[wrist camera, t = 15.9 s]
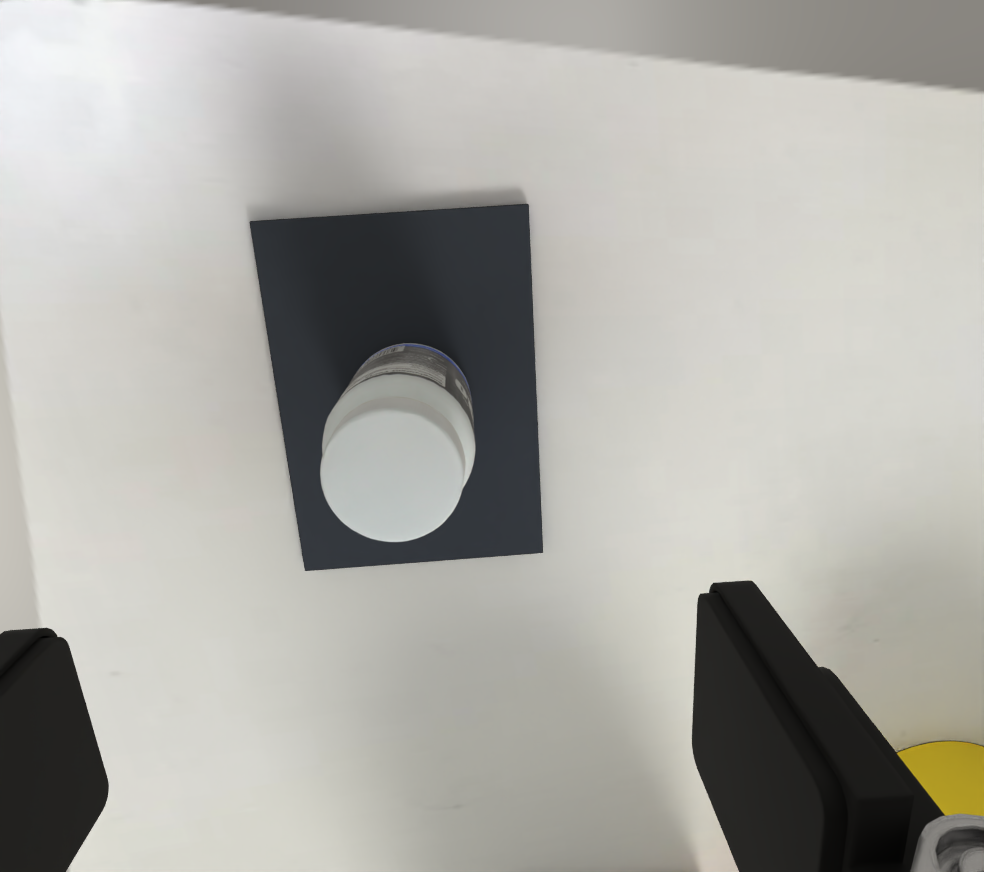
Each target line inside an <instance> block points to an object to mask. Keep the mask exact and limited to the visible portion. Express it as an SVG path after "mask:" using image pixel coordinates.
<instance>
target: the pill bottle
mask: <svg viewBox="0 0 984 872" xmlns="http://www.w3.org/2000/svg"><path fill="white" fill-rule="evenodd" d="M322 454H323V456H322V460H321V467H320V477H321V486H322V490H323V493H324V496H325V498H326V500H327V502H328V504H329V506H330V508H331V509H332V511H333V512H334V513H335V515H336V516H337V517H338V518H339V519H340V520H341V521H342V522H343V523H344V524H345V525H346V526H348V527H349V528H350V529H352V530H353V531H355V532H357V533H359V534H361V535H363V536H366V537H368V538H371V539H375V540H379V541H386V542H403V541H409V540H413V539H417V538H419V537H422V536H424V535H426V534H428V533H430V532H432V531H434V530H435V529H436V528H438V527H439V526H440V525H442V524H443V523H444V522H445V521H446V520H447V518H448V517H449V516H450V515H451V514H452V512H453V511H454V509H455V507H456V505H457V503H458V501H459V499H460V496H461V493H462V489H463V487H464V486H465V484H466V482H467V480H468V478H469V476H470V473H471V470H472V467H473V463H474V457H475V433H474V423H473V409H472V399H471V393H470V389H469V385H468V383H467V380H466V378H465V376H464V374H463V373H462V371H461V370H460V368H459V367H458V366H457V365H456V364H455V362H454V361H453V360H452V359H450V358H449V357H448V356H447V355H445V354H444V353H442V352H441V351H439V350H437V349H435V348H432V347H429V346H426V345H422V344H415V343H403V344H396V345H393V346H389V347H387V348H384V349H382V350H380V351H378V352H377V353H375V354H374V355H372V356H371V357H370V358H369V359H368V360H366V361H365V363H364V364H363V365H362V366H361V367H360V368H359V370H358V371H357V373H356V374H355V376H354V377H353V379H352V380H351V381H350V383H349V385H348V387H347V388H346V390H345V391H344V393H343V394H342V396H341V397H340V399H339V400H338V402H337V403H336V404H335V406H334V408H333V409H332V411H331V412H330V414H329V416H328V418H327V421H326V424H325V429H324V434H323V442H322Z"/></svg>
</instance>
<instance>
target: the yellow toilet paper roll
mask: <svg viewBox="0 0 984 872" xmlns="http://www.w3.org/2000/svg"><path fill="white" fill-rule="evenodd" d="M897 754H898V756H899V757H900V758H901V759H902V761H903V762H904V763H905V765H906V766H907V767H908V768H909V770H910V771H911V772H912V774H913V775H914V776H915V777H916V779H917V780H918V781H919V783H920V784H921V785H922V786H923V788H924V789H925V790H926V791H927V793H928V794H929V795H930V797H931V798H932V799H933V800H934V802H935V803H936V804H937V806H938V807H939V808H940V809H941V811H942V812H943V813H944V815H945V816H947V815H954V814H969V815H978V816H984V747H983V746H980V745H976V744H972V743H966V742H956V741H944V742H934V743H927V744H923V745H918V746H915V747H911V748H908V749H906V750H903V751H900V752H898V753H897Z"/></svg>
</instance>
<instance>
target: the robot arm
mask: <svg viewBox="0 0 984 872" xmlns="http://www.w3.org/2000/svg"><path fill="white" fill-rule="evenodd" d="M692 748H693V754H694V759H695V763H696V766H697V769H698V771H699V774H700V776H701V779H702V781H703V784H704V786H705V789H706V791H707V793H708V796H709V798H710V801H711V803H712V806H713V808H714V811H715V813H716V816H717V818H718V821H719V823H720V826H721V828H722V830H723V833H724V835H725V838H726V840H727V843H728V845H729V848H730V850H731V853H732V855H733V858H734V860H735V863H736V865H737V867H738V870H739V872H984V816H978V815H969V814H954V815H947V816H945V815H944V813H943V812H942V811H941V809H940V808H939V807H938V806H937V804H936V803H935V802H934V800H933V799H932V798H931V797H930V795H929V794H928V793H927V791H926V790H925V789H924V788H923V786H922V785H921V784H920V783H919V781H918V780H917V779H916V777H915V776H914V775H913V774H912V772H911V771H910V770H909V768H908V767H907V766H906V765H905V763H904V762H903V761H902V759H901V758H900V757H899V756H898V754H897V753H896V752H895V750H894V749H893V748H892V747H891V745H890V744H889V743H888V741H887V740H886V739H885V738H884V736H883V735H882V734H881V732H880V731H879V730H878V729H877V727H876V726H875V725H874V723H873V722H872V721H871V720H870V718H869V717H868V716H867V714H866V713H865V712H864V711H863V709H862V708H861V707H860V705H859V704H858V703H857V702H856V700H855V699H854V698H853V696H852V695H851V694H850V693H849V691H848V690H847V689H846V688H845V686H844V685H843V684H842V682H841V681H840V680H839V679H838V677H837V676H836V675H835V674H834V673H833V672H832V671H831V670H830V669H827V668H824V667H818V666H817V665H816V664H815V662H814V661H813V660H812V658H811V657H810V656H809V654H808V653H807V652H806V650H805V649H804V648H803V646H802V645H801V644H800V643H799V641H798V640H797V639H796V637H795V636H794V635H793V633H792V632H791V631H790V629H789V628H788V627H787V625H786V624H785V623H784V621H783V620H782V619H781V617H780V616H779V615H778V613H777V612H776V611H775V609H774V608H773V607H772V605H771V604H770V603H769V601H768V600H767V599H766V597H765V596H764V595H763V593H762V592H761V591H760V589H759V588H758V587H757V585H756V584H755V583H754V582H753V581H735V582H721V583H713V584H712V585H711V587H710V590H709V593H704V594H700V595H699V598H698V604H697V628H696V653H695V677H694V701H693V725H692ZM108 788H109V784H108V779H107V775H106V772H105V768H104V765H103V761H102V758H101V754H100V751H99V748H98V744H97V741H96V737H95V734H94V730H93V727H92V723H91V720H90V717H89V713H88V710H87V706H86V703H85V699H84V696H83V692H82V689H81V686H80V682H79V679H78V675H77V672H76V668H75V665H74V661H73V658H72V655H71V651H70V648H69V645H68V643H67V641H66V640H65V639H64V638H62V637H57V634H56V633H55V632H54V631H53V630H52V629H49V628H38V629H23V630H10V631H4V632H3V633H1V634H0V872H66V870H67V869H68V867H69V865H70V864H71V862H72V860H73V859H74V857H75V855H76V854H77V852H78V850H79V849H80V847H81V845H82V844H83V842H84V840H85V839H86V837H87V836H88V834H89V832H90V831H91V829H92V827H93V826H94V824H95V822H96V821H97V819H98V817H99V816H100V814H101V812H102V811H103V808H104V806H105V804H106V801H107V797H108Z"/></svg>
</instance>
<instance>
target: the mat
mask: <svg viewBox="0 0 984 872" xmlns="http://www.w3.org/2000/svg"><path fill="white" fill-rule="evenodd" d="M250 228H251V234H252V240H253V246H254V253H255V259H256V265H257V272H258V278H259V284H260V291H261V297H262V303H263V310H264V316H265V322H266V328H267V335H268V341H269V347H270V354H271V360H272V366H273V373H274V379H275V385H276V392H277V398H278V404H279V410H280V417H281V423H282V429H283V436H284V442H285V448H286V455H287V461H288V467H289V473H290V480H291V486H292V492H293V499H294V505H295V511H296V518H297V524H298V530H299V537H300V543H301V549H302V555H303V562H304V568H305V571H311V570H324V569H337V568H350V567H364V566H377V565H390V564H403V563H416V562H429V561H442V560H456V559H469V558H482V557H495V556H508V555H521V554H534V553H543V541H542V516H541V492H540V468H539V444H538V420H537V395H536V371H535V347H534V323H533V299H532V275H531V250H530V226H529V205H528V204H519V205H503V206H487V207H471V208H455V209H439V210H423V211H407V212H391V213H375V214H359V215H343V216H327V217H311V218H295V219H279V220H263V221H250ZM403 343H415V344H422V345H426V346H429V347H432V348H435V349H437V350H439V351H441V352H442V353H444V354H445V355H447V356H448V357H449V358H450V359H452V360H453V361H454V362H455V364H456V365H457V366H458V367H459V368H460V370H461V371H462V373H463V374H464V376H465V378H466V380H467V383H468V385H469V389H470V393H471V399H472V409H473V423H474V433H475V457H474V463H473V467H472V470H471V473H470V476H469V478H468V480H467V482H466V484H465V486H464V487H463V489H462V493H461V496H460V499H459V501H458V503H457V505H456V507H455V509H454V511H453V512H452V514H451V515H450V516H449V517H448V518H447V520H446V521H445V522H444V523H443V524H442V525H440V526H439V527H438V528H436V529H435V530H434V531H432V532H430V533H428V534H426V535H424V536H422V537H419V538H417V539H413V540H409V541H403V542H386V541H379V540H375V539H371V538H368V537H366V536H363V535H361V534H359V533H357V532H355V531H353V530H352V529H350V528H349V527H348V526H346V525H345V524H344V523H343V522H342V521H341V520H340V519H339V518H338V517H337V516H336V515H335V513H334V512H333V511H332V509H331V508H330V506H329V504H328V502H327V500H326V498H325V496H324V493H323V490H322V486H321V477H320V467H321V460H322V456H323V454H322V442H323V434H324V429H325V424H326V421H327V418H328V416H329V414H330V412H331V411H332V409H333V408H334V406H335V404H336V403H337V402H338V400H339V399H340V397H341V396H342V394H343V393H344V391H345V390H346V388H347V387H348V385H349V383H350V381H351V380H352V379H353V377H354V376H355V374H356V373H357V371H358V370H359V368H360V367H361V366H362V365H363V364H364V363H365V361H366V360H368V359H369V358H370V357H371V356H372V355H374V354H375V353H377V352H378V351H380V350H382V349H384V348H387V347H389V346H393V345H396V344H403Z"/></svg>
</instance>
